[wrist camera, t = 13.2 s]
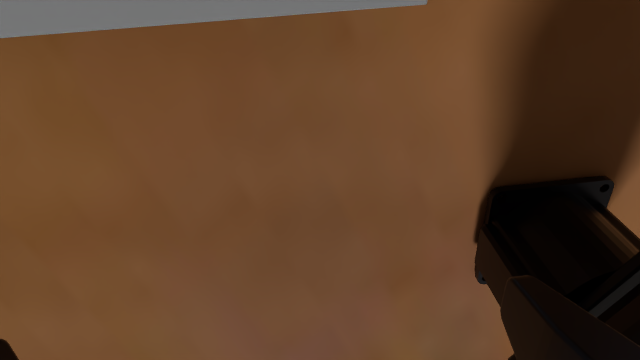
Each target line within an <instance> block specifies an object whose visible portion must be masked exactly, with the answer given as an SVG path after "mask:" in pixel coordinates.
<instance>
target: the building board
mask: <svg viewBox="0 0 640 360" xmlns="http://www.w3.org/2000/svg"><path fill="white" fill-rule="evenodd" d="M424 4H427V0H0V38H7V37H19V36H32V35H45V34H57V33H70V32H82V31H95V30H108V29H120V28H133V27H146V26H158V25H171V24H184V23H196V22H209V21H222V20H234V19H247V18H260V17H272V16H285V15H298V14H310V13H323V12H336V11H348V10H361V9H374V8H386V7H399V6H412V5H424Z"/></svg>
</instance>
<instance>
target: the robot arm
mask: <svg viewBox="0 0 640 360" xmlns="http://www.w3.org/2000/svg"><path fill="white" fill-rule="evenodd" d="M601 186H602V187H601ZM613 188H614V183H613V181H612V180H610V179H609V178H608V177H606V176H598V177H588V178H579V179H569V180H560V181H551V182H541V183H532V184H522V185H513V186H503V187H497V188H495V189H493V190H492V191H491V192H490V194H489V198H488V203H487V209H486V215H485V220H484V225H483V226H482V227H481V229H480V234H479V239H478V245H477V251H476V257H475V264H476V271H475V277H476V279H477V281H478V282H479V283H480V284H487V285H488V286H489V288H490V290H491V291H492V293H493V295H494V297H495V298H496V300H497V302H498V304H499V305H500V307H501V310H500V312H501V318H502V321H503V324H504V327H505V329H506V332H507V335H508V337H509V340H510V343H511V346H512V348H513V351H514V354H513V355H512V356H511V357H509V358H508V360H640V239H639V238H638V237H637V236H636V235H635V234H634V233H633V232H632V231H631V230H629V229H628V228H627V227H626V226H625V225H624V224H623V223H622V222H621V221H620V220H619V219H618V218H616V217H615V216H614V215H613V214H612V213H611V212H610V211H609V210H608V209H607V205H608V202H609V199H610V197H611V194H612V191H613ZM501 195H503V196H502V197H501V198H499V199H497V198H498V197H499V196H501ZM0 360H19V359H18V358H17V356H16V354H15V353H14V351H13V350H12V348H11V347H10V345H9V343H8V342H7V341H5V340H3V339H0Z"/></svg>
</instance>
